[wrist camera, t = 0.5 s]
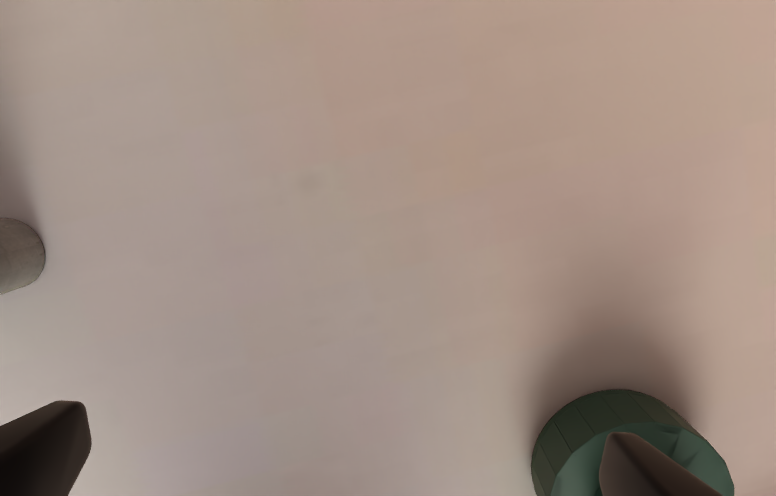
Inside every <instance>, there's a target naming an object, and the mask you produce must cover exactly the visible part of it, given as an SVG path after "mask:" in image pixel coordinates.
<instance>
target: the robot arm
mask: <svg viewBox="0 0 776 496" xmlns="http://www.w3.org/2000/svg"><path fill="white" fill-rule="evenodd" d="M90 450H91V434H90V429H89V423H88V418H87V412H86V408H85V406H84V404H83V403H81V402H78V401H55V402H53V403H50V404H48V405H46V406H44V407H42V408H39V409H37V410H35V411H33V412H31V413H28V414H26V415H24V416H22V417H20V418H17V419H15V420H13V421H11V422H9V423H6V424H4V425H2V426H0V496H68V494H69V492H70V490H71V488H72V486H73V485H74V483H75V481H76V479H77V477H78V475H79V473H80V471H81V469H82V467H83V465H84V463H85V462H86V460H87V458H88V456H89V453H90ZM599 482H600V487H601V490H602V494H603V496H723V495H722V494H720V493H719V492H718V491H716V490H715V489H713V488H712V487H710V486H709V485H708V484H706V483H705V482H703V481H702V480H701V479H699V478H698V477H696V476H695V475H693V474H692V473H691V472H689V471H688V470H686V469H685V468H684V467H682V466H681V465H679V464H678V463H676V462H675V461H674V460H672V459H671V458H669V457H668V456H667V455H665V454H664V453H662V452H661V451H659V450H658V449H657V448H655V447H654V446H652V445H651V444H649V443H648V442H647V441H645V440H644V439H642V438H641V437H640V436H638V435H636V434H634V433H626V432H611V433H610V434H609V435H608V436H607V438H606V442H605V447H604V451H603V455H602V460H601V464H600V469H599Z"/></svg>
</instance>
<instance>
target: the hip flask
mask: <svg viewBox="0 0 776 496" xmlns="http://www.w3.org/2000/svg"><path fill="white" fill-rule="evenodd" d="M44 261H45V254H44V249H43V245H42V243H41V241H40V239H39V237H38V236H37V235H36V233H35V232H34V231H33V230H32V229H31V228H30V227H29V226H27V225H26V224H24V223H22V222H20V221H17V220H14V219H9V218H1V219H0V294H3V293H6V292H9V291H12V290H15V289H18V288H20V287H23V286H26V285H28V284H30V283H32V282H33V281H35V280H36V279H37V277H38V276H39V275H40V273H41V271H42V269H43V266H44Z"/></svg>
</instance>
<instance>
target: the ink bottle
mask: <svg viewBox="0 0 776 496" xmlns="http://www.w3.org/2000/svg"><path fill="white" fill-rule="evenodd" d="M611 432H626V433H634V434H636V435H638V436H640V437H641V438H642V439H644V440H645V441H647V442H648V443H649V444H651V445H652V446H654V447H655V448H657V449H658V450H659V451H661V452H662V453H664V454H665V455H667V456H668V457H669V458H671V459H672V460H674V461H675V462H676V463H678V464H679V465H681V466H682V467H684V468H685V469H686V470H688V471H689V472H691V473H692V474H693V475H695V476H696V477H698V478H699V479H701V480H702V481H703V482H705V483H706V484H708V485H709V486H710V487H712V488H713V489H715V490H716V491H718V492H719V493H720V494H722V495H723V496H734V484H733V482H732V479H731V476H730V474H729V471H728V468H727V465H726V463H725V461H724V460H723V459H722V457H721V456H720V455H719V454H718V453H717V452H716V450H715V449H714V448H713V447H712V446H711V445H710V443H709V442H708V441H707V440H706V439H704V438H703V437H702V436H701V435H700V434H699V433H698V432H697V431H696V430H695V429H694V428H693V427H692V426H691V425H689V424H688V423H687V422H686V421H685V420H684V419H683V418H682V417H681V416H680V415H679V414H678V413H677V412H675V411H674V410H673V409H671V408H670V407H669V406H667V405H666V404H664V403H663V402H661V401H660V400H658V399H656V398H654V397H651V396H649V395H646V394H643V393H640V392H635V391H630V390H606V391H600V392H595V393H592V394H589V395H586V396H583V397H581V398H579V399H576V400H575V401H573V402H571V403H569V404H568V405H566V406H565V407H564V408H562V409H561V410H560V411H558V412H557V413H556V414H555V415H554V416H553V417H552V418H551V419H550V420H549V422H548V423H547V424H546V426H545V427H544V428H543V430H542V432H541V433H540V435H539V437H538V440H537V442H536V444H535V448H534V451H533V455H532V463H531V469H532V479H533V484H534V488H535V491H536V494H537V496H603V494H602V490H601V487H600V482H599V469H600V464H601V460H602V455H603V451H604V447H605V442H606V438H607V436H608V435H609V434H610V433H611Z"/></svg>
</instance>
